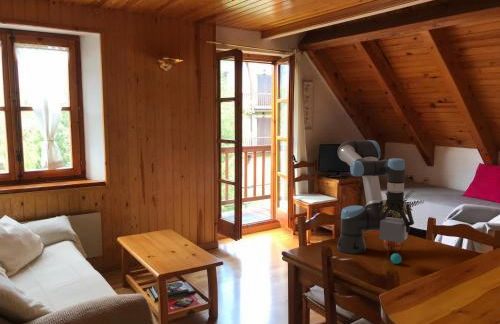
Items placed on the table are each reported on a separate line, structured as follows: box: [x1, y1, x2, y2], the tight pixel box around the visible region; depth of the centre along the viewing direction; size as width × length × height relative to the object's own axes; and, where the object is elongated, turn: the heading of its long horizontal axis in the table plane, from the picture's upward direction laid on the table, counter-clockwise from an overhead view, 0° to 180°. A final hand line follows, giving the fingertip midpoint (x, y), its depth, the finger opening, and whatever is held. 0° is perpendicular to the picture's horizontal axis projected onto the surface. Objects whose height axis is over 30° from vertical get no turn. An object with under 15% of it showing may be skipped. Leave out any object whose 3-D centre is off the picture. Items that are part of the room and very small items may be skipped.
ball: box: [390, 253, 402, 265], centre depth 205 cm, size 5×5×5 cm
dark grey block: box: [379, 216, 409, 244], centre depth 201 cm, size 10×10×9 cm
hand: (393, 236), depth 202 cm, fingers closed on dark grey block, 10 cm apart
